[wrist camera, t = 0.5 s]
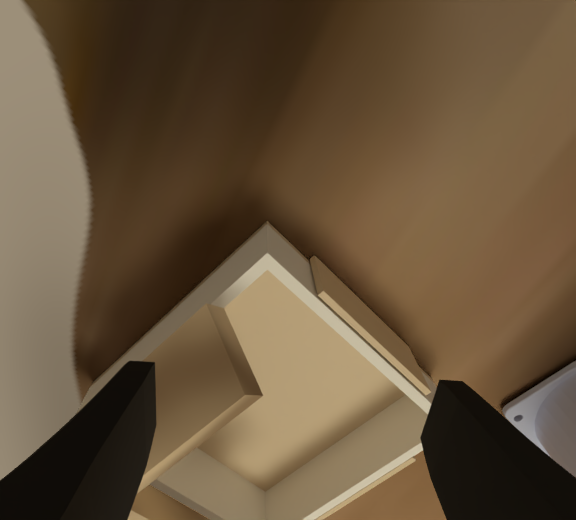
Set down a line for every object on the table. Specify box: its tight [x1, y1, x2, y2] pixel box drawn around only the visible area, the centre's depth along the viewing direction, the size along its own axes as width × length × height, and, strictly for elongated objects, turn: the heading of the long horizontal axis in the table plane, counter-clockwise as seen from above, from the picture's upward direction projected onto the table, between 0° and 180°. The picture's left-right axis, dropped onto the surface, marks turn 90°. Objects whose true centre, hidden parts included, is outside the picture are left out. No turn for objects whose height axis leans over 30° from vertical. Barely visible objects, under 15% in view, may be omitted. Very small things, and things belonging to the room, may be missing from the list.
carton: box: [76, 221, 437, 520], centre depth 21 cm, size 13×13×4 cm
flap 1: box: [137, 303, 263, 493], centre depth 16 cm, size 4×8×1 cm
